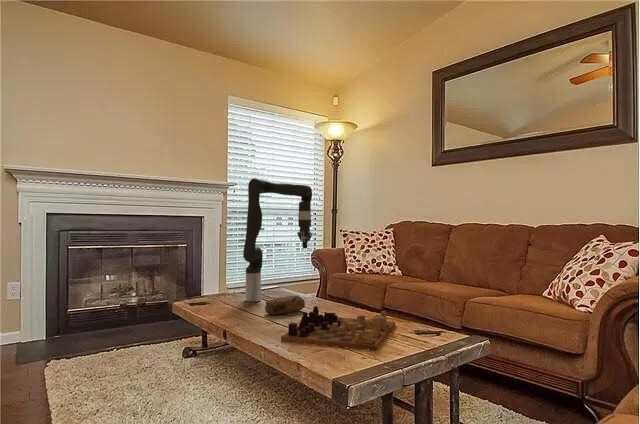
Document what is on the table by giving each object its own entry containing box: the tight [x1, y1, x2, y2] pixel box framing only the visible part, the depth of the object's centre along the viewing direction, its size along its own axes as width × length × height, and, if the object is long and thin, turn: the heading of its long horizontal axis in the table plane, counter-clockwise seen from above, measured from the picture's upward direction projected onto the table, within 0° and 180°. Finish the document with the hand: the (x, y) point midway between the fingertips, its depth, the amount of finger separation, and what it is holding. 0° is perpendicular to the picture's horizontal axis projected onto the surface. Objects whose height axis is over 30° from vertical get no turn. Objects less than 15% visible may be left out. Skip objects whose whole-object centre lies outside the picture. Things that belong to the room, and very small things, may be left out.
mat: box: [284, 310, 301, 316], centre depth 236 cm, size 20×8×1 cm, turn 37°
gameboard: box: [280, 305, 396, 351], centre depth 190 cm, size 40×40×9 cm
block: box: [264, 295, 306, 315], centre depth 231 cm, size 11×8×20 cm
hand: (304, 248), depth 254 cm, fingers closed
